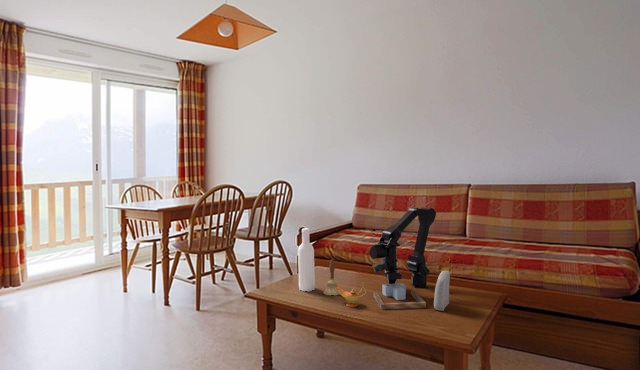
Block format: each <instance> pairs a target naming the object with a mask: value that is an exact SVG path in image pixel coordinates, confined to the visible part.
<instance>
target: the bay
mask: <svg viewBox="0 0 640 370" xmlns="http://www.w3.org/2000/svg"><path fill="white" fill-rule="evenodd" d="M410 295H411V296H412V298H413V299H414V300H415V301H410V302H409V301H407V302H406V301H405V302H386V303H385V302H384V301H383V300H382V297H381V296H380V295H379V293H378V292H377V291H374V292H373V298H374V300H375V302H376V303H377V305H378V306H379V308H380V309H381V310H397V309H398V310H399V309H401V310H402V309H421V308H422V309H423V308H424V309H425V308H427V302H426V301H425V300H424V299H423V298H422V297H421V296H420V295H419V294H418V292H417V291H416V290H411V294H410Z"/></svg>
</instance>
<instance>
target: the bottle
mask: <svg viewBox="0 0 640 370" xmlns="http://www.w3.org/2000/svg"><path fill="white" fill-rule="evenodd" d="M310 232H311V231H310V228H307V227H305V228H302V229H301V243H300V245H299V246H298V249H297V259H298V263H297V264H298V290H299V291H300V290H302V291H301V292H305V291H307V292H312V290H313V291H314V290H315V289H316V282H315V280H316V279H315V277H316V276H315V249H314V246H313V244H312V243H310Z"/></svg>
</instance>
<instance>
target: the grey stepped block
mask: <svg viewBox="0 0 640 370" xmlns="http://www.w3.org/2000/svg"><path fill="white" fill-rule="evenodd" d="M381 288H382V292H381V294H382V295H383V296H384V297H393V298H394V299H395V300H396V301H404V300H406V298H407V297H406V295H407V285H406V284H404V283H403V282H398V283H397V282H395V284H388V283H384V284H382V287H381Z"/></svg>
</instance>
